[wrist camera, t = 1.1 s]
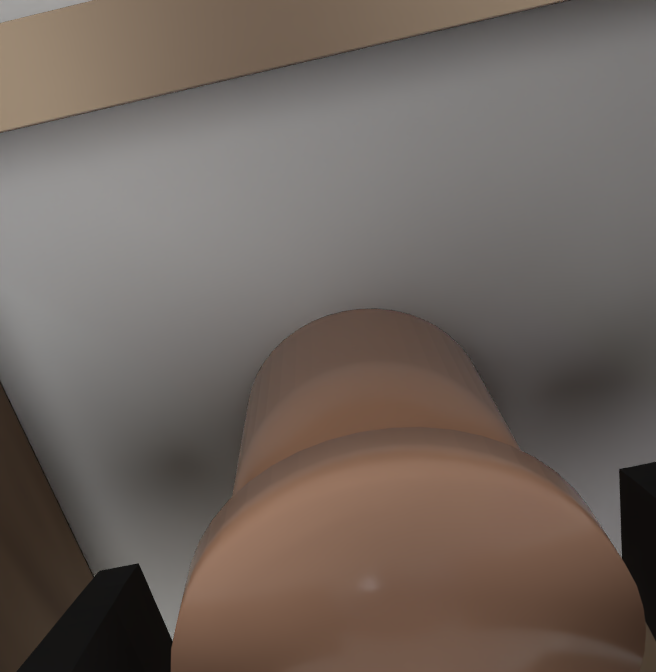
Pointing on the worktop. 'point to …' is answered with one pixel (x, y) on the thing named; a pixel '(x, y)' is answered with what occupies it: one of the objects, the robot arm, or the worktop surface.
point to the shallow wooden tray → (130, 86)
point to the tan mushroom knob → (397, 525)
